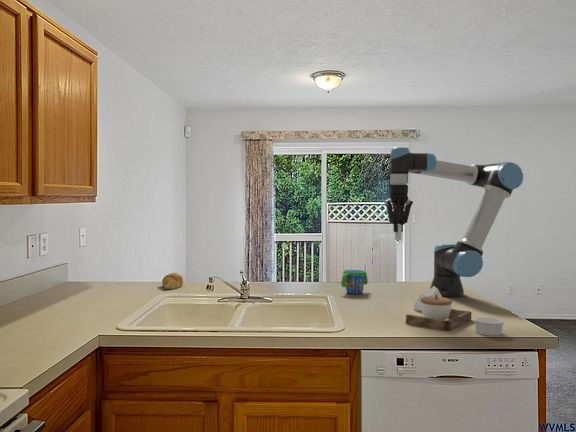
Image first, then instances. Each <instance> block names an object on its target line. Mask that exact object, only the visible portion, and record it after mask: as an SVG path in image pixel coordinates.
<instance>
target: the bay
mask: <svg viewBox="0 0 576 432" xmlns="http://www.w3.org/2000/svg"><path fill="white" fill-rule="evenodd" d="M448 318H449V319H446V320H440V319H434V318H428V317H424V316H422V315H421V316H419V315H415V314H408V313H407V314H405V324H408V325H412V326H419V327H422V328H423V327H425V328H429V329H430V328H431V329H433V330H434V329H435V330H440V331H445V330H447V331H446V332H449V331H450V332H451V331H452V330H455V329H456V328H458V327H461V326H462V325H464V324H467V323H469V322H470V321H472V311H470V310H461V309H454V308H451V312H450V315H449V317H448Z"/></svg>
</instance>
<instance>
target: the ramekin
mask: <svg viewBox="0 0 576 432" xmlns="http://www.w3.org/2000/svg"><path fill="white" fill-rule="evenodd" d="M474 324H475V325H474V326H475V329H474V330H475V332H476V333H477V334H479V335H483V336H489V337H496V336H498V337H499V336H500V335H502V334H503V325H504V320H502V319H499V318H494V317H489V316H488V317H487V316H485V317H484V316H483V317H482V316H481V317H475V318H474Z"/></svg>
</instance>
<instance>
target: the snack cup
mask: <svg viewBox="0 0 576 432" xmlns="http://www.w3.org/2000/svg"><path fill="white" fill-rule="evenodd" d="M342 273H343V275H342V277H341V281H340V283H341V284H340V285H341V287H342V288H345V292H347V294H352V295H359V294H363V292H364V286H365V285H368V284H369V283H368V273H367V271H366V270H361V269H360V270H359V269H345V270H343V271H342Z"/></svg>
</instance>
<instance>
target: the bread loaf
mask: <svg viewBox="0 0 576 432" xmlns="http://www.w3.org/2000/svg"><path fill="white" fill-rule="evenodd" d="M183 283H184V278H183V275H181V274H179V273H178V272H172V273H168V274H166V275H164V276H163V278H162V280H161V284H162V287H164V288H165V290H174V289H179V288H182V287H183Z"/></svg>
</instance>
